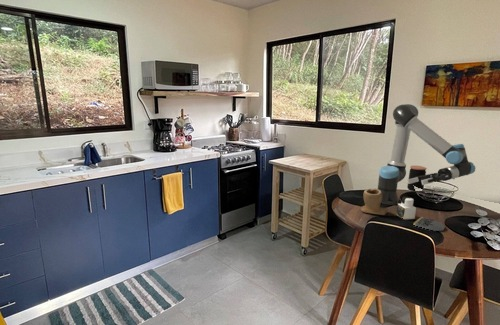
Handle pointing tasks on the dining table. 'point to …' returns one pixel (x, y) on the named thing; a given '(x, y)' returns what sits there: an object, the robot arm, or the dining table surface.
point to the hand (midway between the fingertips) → (414, 182)
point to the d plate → (429, 224)
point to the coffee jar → (414, 173)
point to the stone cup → (373, 202)
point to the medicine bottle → (406, 208)
